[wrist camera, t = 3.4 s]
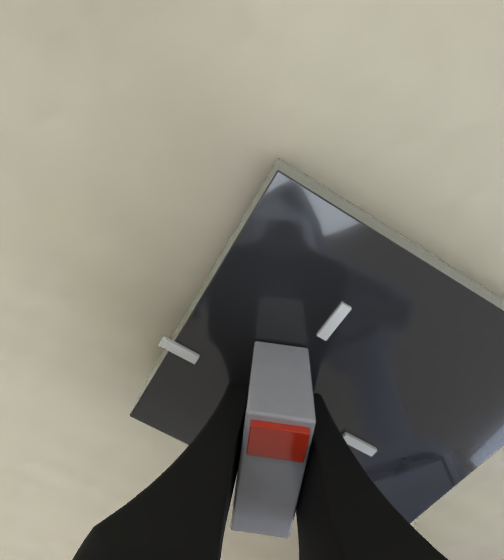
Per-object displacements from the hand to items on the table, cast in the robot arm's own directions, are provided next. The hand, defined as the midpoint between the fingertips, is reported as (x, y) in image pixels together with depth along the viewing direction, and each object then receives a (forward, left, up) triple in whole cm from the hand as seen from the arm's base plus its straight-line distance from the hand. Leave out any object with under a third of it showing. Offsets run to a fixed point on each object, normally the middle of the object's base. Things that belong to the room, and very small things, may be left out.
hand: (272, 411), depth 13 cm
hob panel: (+1, -2, -4) cm, 4 cm away
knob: (0, 0, -1) cm, 1 cm away
